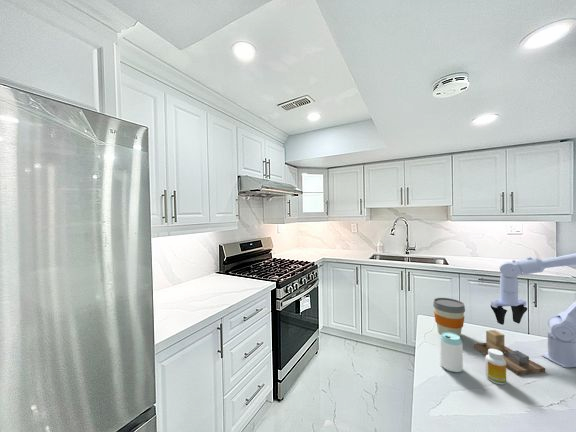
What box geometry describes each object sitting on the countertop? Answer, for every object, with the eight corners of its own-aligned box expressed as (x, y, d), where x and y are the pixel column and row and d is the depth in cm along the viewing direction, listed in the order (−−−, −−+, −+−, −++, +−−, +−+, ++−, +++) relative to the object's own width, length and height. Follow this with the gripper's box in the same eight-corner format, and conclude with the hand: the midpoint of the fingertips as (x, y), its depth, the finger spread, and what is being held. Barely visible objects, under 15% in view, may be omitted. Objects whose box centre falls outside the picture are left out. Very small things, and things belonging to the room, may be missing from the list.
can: (463, 376, 86) (462, 342, 86) (439, 369, 90) (439, 337, 90) (462, 365, 92) (461, 333, 92) (440, 359, 96) (439, 329, 96)
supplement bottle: (510, 386, 81) (510, 356, 81) (491, 384, 82) (491, 355, 82) (499, 375, 86) (499, 348, 86) (482, 373, 87) (482, 346, 87)
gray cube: (517, 362, 93) (517, 350, 93) (528, 368, 89) (528, 356, 89) (508, 363, 93) (508, 351, 93) (519, 369, 89) (519, 357, 89)
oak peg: (495, 349, 102) (494, 330, 102) (504, 354, 98) (504, 334, 98) (486, 349, 102) (486, 330, 102) (495, 355, 98) (495, 335, 98)
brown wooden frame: (497, 345, 105) (497, 341, 105) (545, 372, 87) (545, 368, 87) (473, 347, 104) (473, 343, 104) (517, 375, 86) (517, 370, 86)
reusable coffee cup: (468, 333, 115) (467, 301, 115) (461, 343, 107) (461, 309, 107) (437, 325, 124) (437, 295, 124) (429, 333, 116) (429, 302, 116)
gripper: (514, 287, 108) (513, 317, 108) (484, 288, 106) (484, 319, 106) (531, 292, 101) (531, 325, 101) (500, 294, 99) (500, 327, 99)
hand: (508, 323), depth 103 cm, fingers open, 7 cm apart
